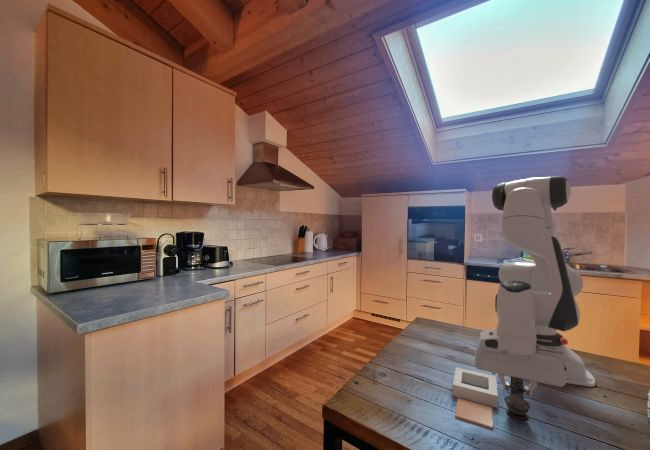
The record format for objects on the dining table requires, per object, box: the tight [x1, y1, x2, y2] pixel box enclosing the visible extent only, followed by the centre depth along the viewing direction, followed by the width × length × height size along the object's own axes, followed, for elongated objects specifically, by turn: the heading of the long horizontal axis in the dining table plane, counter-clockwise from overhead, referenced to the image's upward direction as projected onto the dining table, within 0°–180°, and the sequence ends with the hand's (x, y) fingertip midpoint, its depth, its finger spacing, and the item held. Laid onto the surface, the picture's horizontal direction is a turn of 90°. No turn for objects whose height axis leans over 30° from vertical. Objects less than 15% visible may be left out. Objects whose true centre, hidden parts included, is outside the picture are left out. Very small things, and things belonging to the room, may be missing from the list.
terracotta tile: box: [454, 397, 494, 430], centre depth 78 cm, size 9×9×1 cm
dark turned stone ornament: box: [504, 376, 531, 423], centre depth 75 cm, size 6×6×12 cm
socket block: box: [452, 366, 499, 409], centre depth 88 cm, size 12×12×4 cm
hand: (516, 391), depth 75 cm, fingers closed on dark turned stone ornament, 4 cm apart
